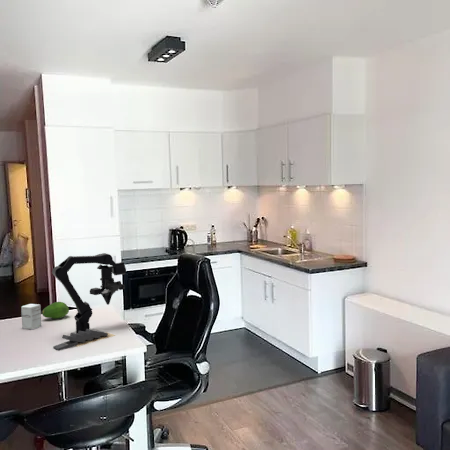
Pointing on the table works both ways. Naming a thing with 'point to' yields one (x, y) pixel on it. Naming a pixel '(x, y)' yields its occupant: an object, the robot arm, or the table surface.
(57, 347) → the domino
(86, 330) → the domino
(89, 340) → the board
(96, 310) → the table surface
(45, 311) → the fruit
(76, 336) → the domino
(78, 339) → the domino
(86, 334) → the domino
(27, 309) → the supplement box
